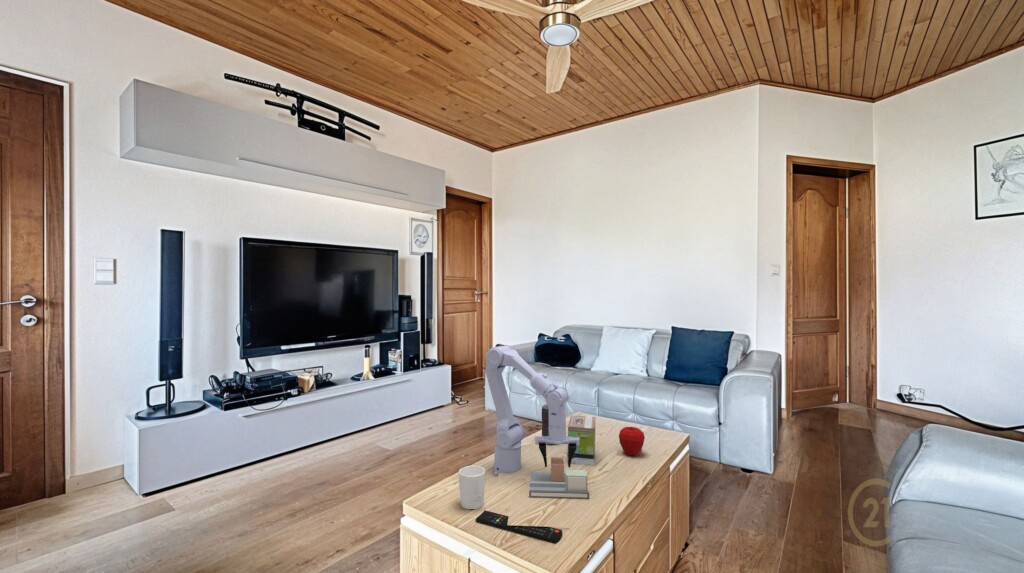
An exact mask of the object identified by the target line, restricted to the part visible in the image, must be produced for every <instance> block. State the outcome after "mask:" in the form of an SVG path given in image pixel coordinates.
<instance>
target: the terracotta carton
mask: <svg viewBox="0 0 1024 573" xmlns="http://www.w3.org/2000/svg"><path fill="white" fill-rule="evenodd" d="M564 462H565V460H564V458H563V457H560V456H559V457H557V456H551V457H550V473H551V482H564V473H565V463H564Z"/></svg>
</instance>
